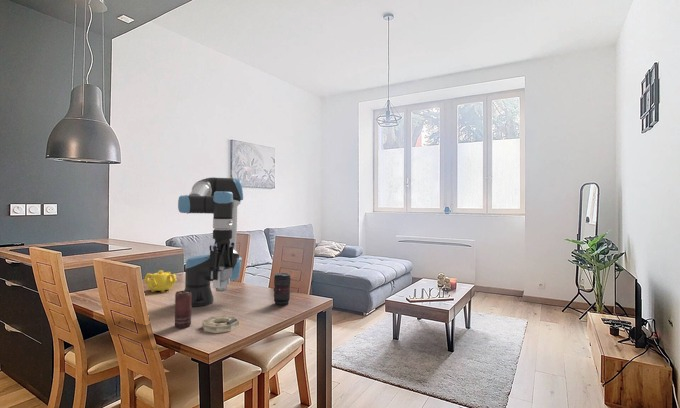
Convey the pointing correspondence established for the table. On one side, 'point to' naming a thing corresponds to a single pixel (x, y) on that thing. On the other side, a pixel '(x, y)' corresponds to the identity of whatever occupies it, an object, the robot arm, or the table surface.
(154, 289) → the teapot
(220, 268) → the bushing
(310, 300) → the table surface
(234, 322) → the ring
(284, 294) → the camera lens
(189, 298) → the can
